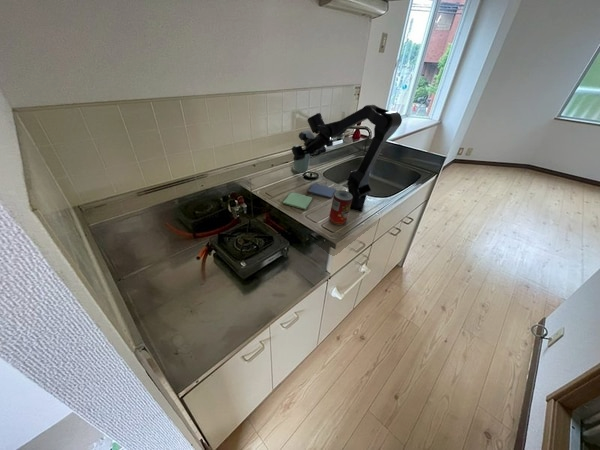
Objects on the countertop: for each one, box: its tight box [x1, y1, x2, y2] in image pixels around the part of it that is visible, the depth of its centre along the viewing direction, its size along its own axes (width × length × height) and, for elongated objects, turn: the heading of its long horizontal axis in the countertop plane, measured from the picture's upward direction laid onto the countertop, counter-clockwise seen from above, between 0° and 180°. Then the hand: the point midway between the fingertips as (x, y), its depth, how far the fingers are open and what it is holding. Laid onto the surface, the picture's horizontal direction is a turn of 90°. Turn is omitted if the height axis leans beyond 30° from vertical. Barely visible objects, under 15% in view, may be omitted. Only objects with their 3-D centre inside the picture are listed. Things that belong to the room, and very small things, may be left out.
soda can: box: [329, 189, 353, 226], centre depth 91 cm, size 7×7×12 cm
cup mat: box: [282, 191, 313, 211], centre depth 103 cm, size 10×10×1 cm
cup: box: [293, 154, 311, 174], centre depth 120 cm, size 8×8×10 cm
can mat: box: [307, 183, 336, 199], centre depth 113 cm, size 11×9×1 cm
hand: (300, 158), depth 120 cm, fingers closed on cup, 8 cm apart
